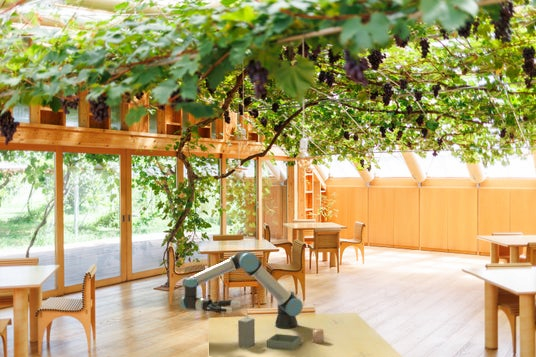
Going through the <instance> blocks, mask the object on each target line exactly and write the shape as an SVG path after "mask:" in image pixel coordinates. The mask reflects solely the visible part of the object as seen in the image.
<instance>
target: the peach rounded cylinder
mask: <svg viewBox="0 0 536 357" xmlns="http://www.w3.org/2000/svg"><path fill="white" fill-rule="evenodd" d="M324 337H325V336H324V329H321V328H314V329H312V343H314V344H323V343H324Z"/></svg>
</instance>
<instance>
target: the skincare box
mask: <svg viewBox="0 0 536 357" xmlns="http://www.w3.org/2000/svg"><path fill="white" fill-rule="evenodd" d="M237 322H238V325H237V326H238V330H237V332H238V334H237V335H238V338H237V339H238V346H239V347H242V348H246V349H247V348H249V347H251V346H253V345H255V341H256V340H255V334H256V332H255V318H253V317H249V316H246V317H243V318H241V319H238V321H237Z"/></svg>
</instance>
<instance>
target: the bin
mask: <svg viewBox="0 0 536 357" xmlns="http://www.w3.org/2000/svg"><path fill="white" fill-rule="evenodd" d="M302 339H303V338H302V336H301V335H294V334H293V335H292V334H281V333H275V334H273V335H272V336H271V337H269V338H267V339H266V348H270V349H280V350H288V351H289V350H291V351H294V350H296V348H297V347H300V345H301V344H302V342H303V340H302Z"/></svg>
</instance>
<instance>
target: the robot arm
mask: <svg viewBox="0 0 536 357" xmlns="http://www.w3.org/2000/svg"><path fill="white" fill-rule="evenodd" d="M240 269H242V270H243V271H244V272H245V273H246V274H247V275H248V276H249V277H254V278H255V280H256V281H257V282H258V283H260V285H261V286H262V287H263V288H265V290H267V292H268V293H269V294H270V295H271V296H272V297H274V299H275V300H277V302H276V303H277V304H276V305H277V315H276V319H275V323H274V324H275V325H274V326H275V327H276V328H279V329H293V328H296V327H298V324H299V322H298V319H297V316H298V315H300V314H301V313H302V311H303V309H304V308H303V307H304V306H303V302H302V301H301V300H300V299H299V298H298V297H297V296H296V295H295V291H291V290H286V289H285V288H284V287H283V286H282V285H281V284H280V283H279V281H278V280H276V279H275V277H273V275H271V274H270V273H269V272H268V270H266V268H264V267H263V262H262V261H261V260H260V259H259V258H258V257H257V255H256V254H254V253H253V252H250V251H248V250H242V251H239V252H237V253H235V254H234V255H231V256H229V257H228V259H226V260H224V261H222V262H220V263H218V264H215V265H212V266H211V267H208V268H206V269H205V270H202V271H199V272H197V273H196V274H194V275H191V276H186V277H184V278H183V279H182V282H181V283H182V287H183V288H184V296H182V297H181V298H180V302H179V305H180V308H181V309H183V310H187V311H188V310H189V311H200V312H203V311H204V312H212V313H213V312H214V313H217V314H222V313H228V314H232V313H233V308H232V307H237V308H241V306H242V303H241V302H240V301H232V299H229V300H215V301H213V300H212V299H211V298H205V297H204V298H202V297H201V296H199V297H197V293H198V292H197V291H198V290H197V289H198V286H200V285H203V284H205V283H207V282H209V281H212V280H214V279H216V278H218V277H220V276H222V275H225V274H226V273H229V272H231V271H237V270H240ZM229 306H230V307H229Z"/></svg>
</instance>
